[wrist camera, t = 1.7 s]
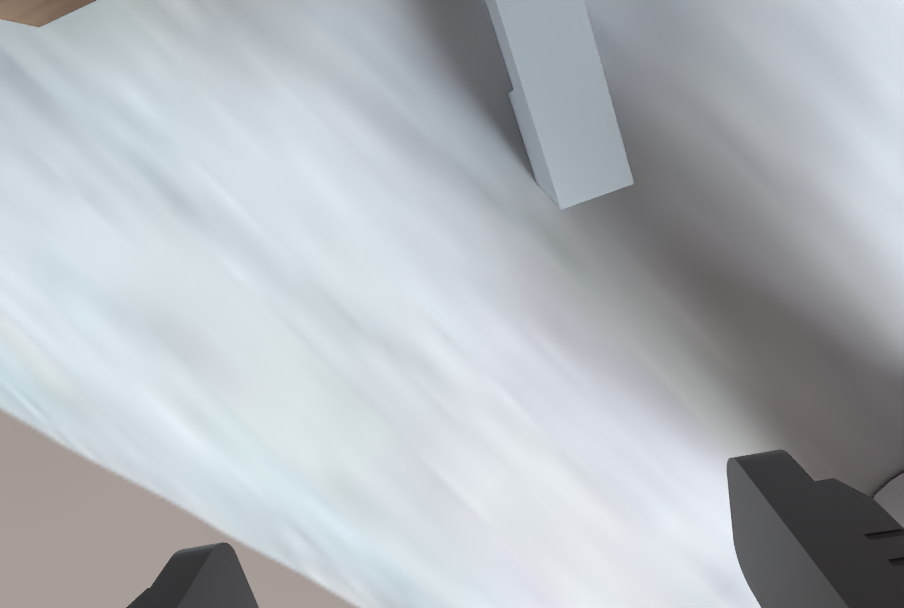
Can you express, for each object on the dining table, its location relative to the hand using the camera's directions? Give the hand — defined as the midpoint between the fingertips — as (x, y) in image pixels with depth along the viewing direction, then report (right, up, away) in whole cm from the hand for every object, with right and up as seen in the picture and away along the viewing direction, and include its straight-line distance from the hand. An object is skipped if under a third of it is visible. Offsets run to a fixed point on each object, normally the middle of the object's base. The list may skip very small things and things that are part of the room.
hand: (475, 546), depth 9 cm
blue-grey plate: (+3, +16, +16) cm, 22 cm away
